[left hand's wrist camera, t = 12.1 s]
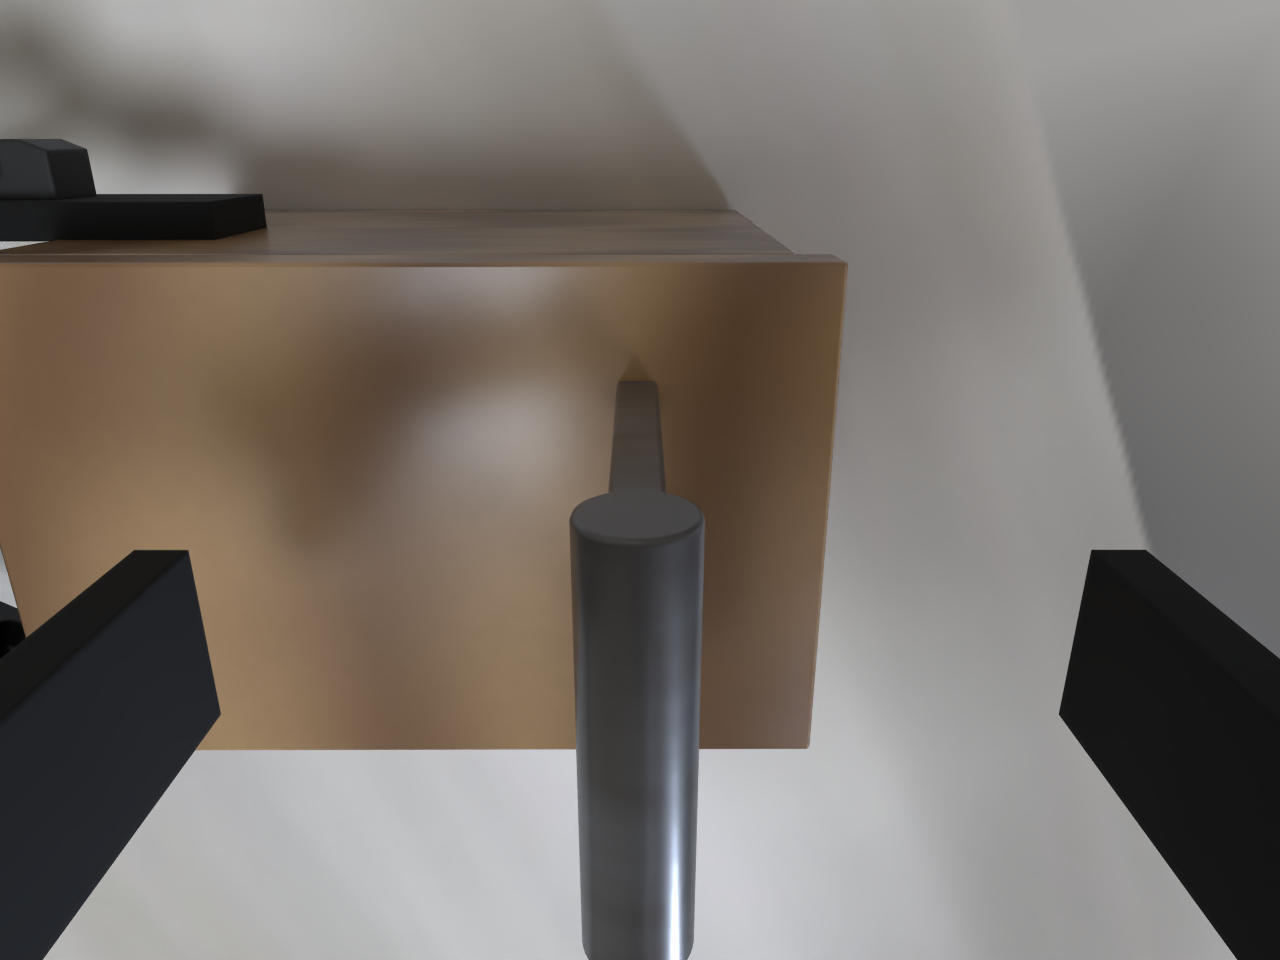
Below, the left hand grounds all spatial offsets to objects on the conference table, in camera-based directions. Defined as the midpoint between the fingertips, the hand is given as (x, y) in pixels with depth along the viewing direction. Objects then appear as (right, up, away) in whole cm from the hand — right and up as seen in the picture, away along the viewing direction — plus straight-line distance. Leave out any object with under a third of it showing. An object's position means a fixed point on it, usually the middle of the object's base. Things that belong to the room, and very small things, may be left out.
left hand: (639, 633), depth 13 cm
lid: (-4, +2, +5) cm, 6 cm away
